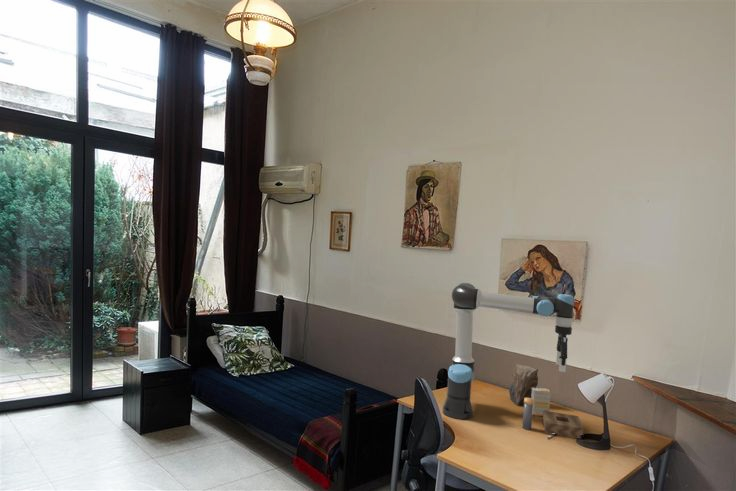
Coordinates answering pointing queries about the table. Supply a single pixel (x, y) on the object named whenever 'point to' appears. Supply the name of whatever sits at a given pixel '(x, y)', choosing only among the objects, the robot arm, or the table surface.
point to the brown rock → (522, 383)
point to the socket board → (562, 424)
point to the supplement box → (540, 401)
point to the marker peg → (527, 413)
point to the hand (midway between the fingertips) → (560, 368)
